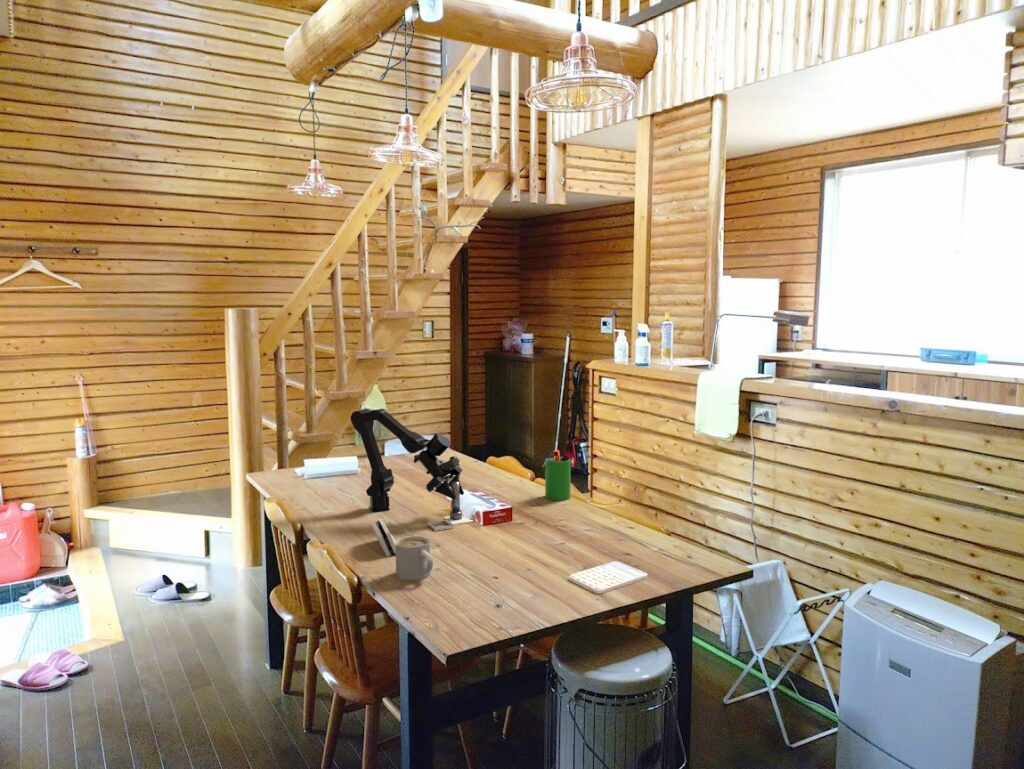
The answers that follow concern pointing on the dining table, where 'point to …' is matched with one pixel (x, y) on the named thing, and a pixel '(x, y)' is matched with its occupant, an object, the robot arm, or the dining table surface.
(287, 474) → the dining table surface
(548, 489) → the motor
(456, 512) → the grey metal post
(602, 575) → the calculator
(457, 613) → the dining table surface
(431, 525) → the gray square frame
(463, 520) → the mat
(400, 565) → the coffee mug
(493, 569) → the dining table surface
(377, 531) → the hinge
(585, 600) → the dining table surface
